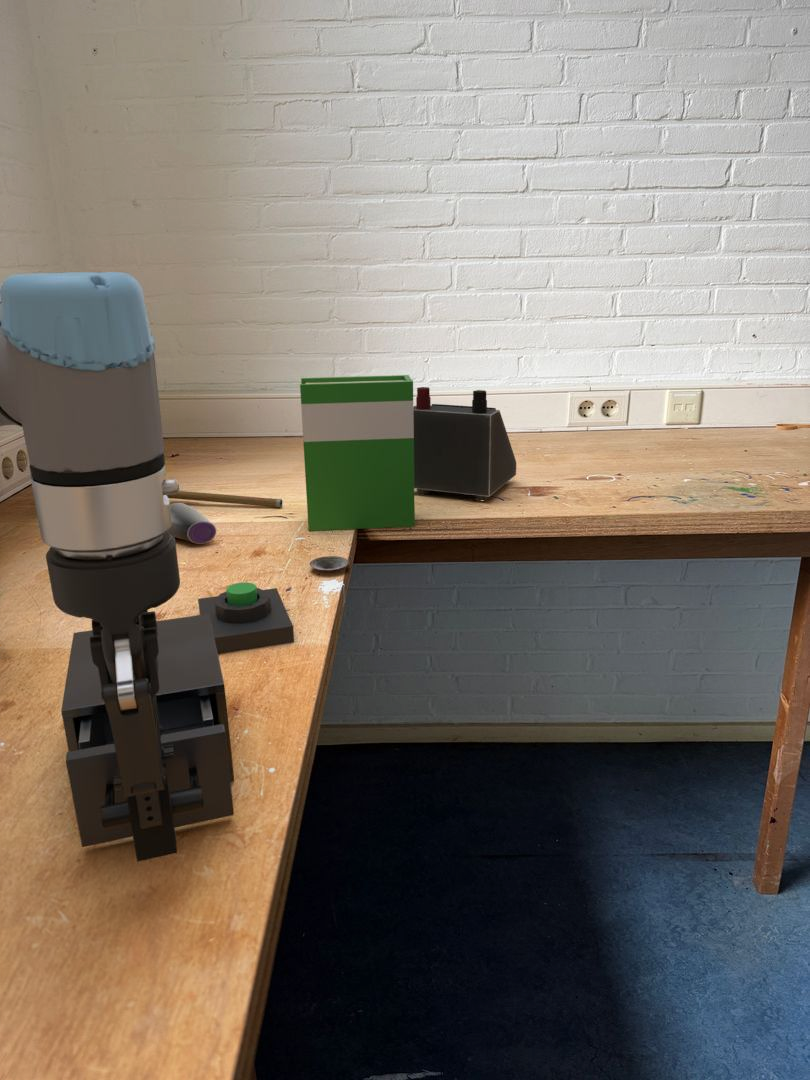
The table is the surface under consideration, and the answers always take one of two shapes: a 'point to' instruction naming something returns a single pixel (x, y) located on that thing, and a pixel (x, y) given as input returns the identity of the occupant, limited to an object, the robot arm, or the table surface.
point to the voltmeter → (460, 447)
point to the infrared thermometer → (190, 524)
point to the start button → (241, 593)
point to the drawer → (191, 772)
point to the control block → (248, 622)
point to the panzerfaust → (227, 499)
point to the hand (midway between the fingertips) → (156, 850)
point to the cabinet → (181, 672)
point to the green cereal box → (358, 451)
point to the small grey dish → (329, 563)
